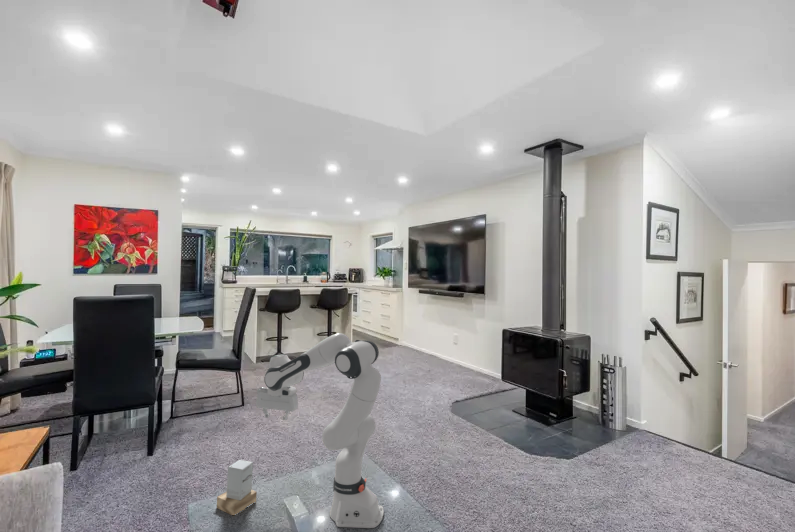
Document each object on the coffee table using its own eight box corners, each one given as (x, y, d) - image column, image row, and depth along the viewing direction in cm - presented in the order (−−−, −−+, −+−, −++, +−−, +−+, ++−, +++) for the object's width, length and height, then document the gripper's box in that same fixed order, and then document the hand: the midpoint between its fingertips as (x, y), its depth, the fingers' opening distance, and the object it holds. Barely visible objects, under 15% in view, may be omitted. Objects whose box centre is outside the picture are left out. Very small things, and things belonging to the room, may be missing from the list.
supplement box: (240, 501, 152) (242, 469, 152) (225, 497, 154) (227, 466, 154) (252, 491, 159) (253, 461, 159) (237, 488, 161) (239, 458, 161)
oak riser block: (256, 503, 158) (256, 491, 159) (234, 517, 149) (234, 504, 149) (238, 496, 164) (239, 484, 164) (216, 509, 154) (217, 496, 154)
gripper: (253, 388, 173) (252, 418, 172) (293, 392, 168) (292, 423, 168) (261, 385, 179) (260, 414, 178) (300, 389, 175) (298, 418, 174)
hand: (276, 418), depth 173 cm, fingers open, 8 cm apart
